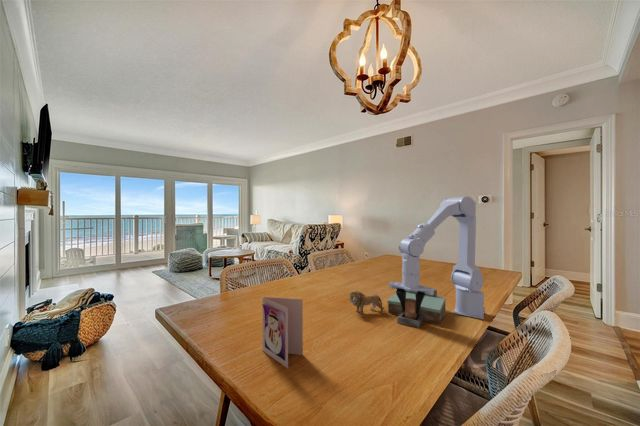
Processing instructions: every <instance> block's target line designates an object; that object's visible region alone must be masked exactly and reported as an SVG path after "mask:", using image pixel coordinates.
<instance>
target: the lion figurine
mask: <svg viewBox="0 0 640 426" xmlns="http://www.w3.org/2000/svg"><path fill="white" fill-rule="evenodd" d="M349 301H350V303H351V304H352V305H353V306H354V307H356V310H355V313H359V315H361V316H362V315H363V314H364V306H369V305H371V304H372V307H371V308H369V310H370V311H374V310H375V309H376V308H377V307H378V308H379V309H380V310H379V313H380V314H382V313H383V312H384V310H385V307H384V306H383V302H382V299H381V296H379V295H378V294H374V293H373V294H368V295H366V294H364V293H362V292H361V291H358V290H351V291H350V292H349Z"/></svg>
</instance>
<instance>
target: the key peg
mask: <svg viewBox="0 0 640 426" xmlns="http://www.w3.org/2000/svg"><path fill="white" fill-rule="evenodd" d="M405 318H409V319H414V320H417V314H416V300H415V299H412V298H407V299H405Z"/></svg>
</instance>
